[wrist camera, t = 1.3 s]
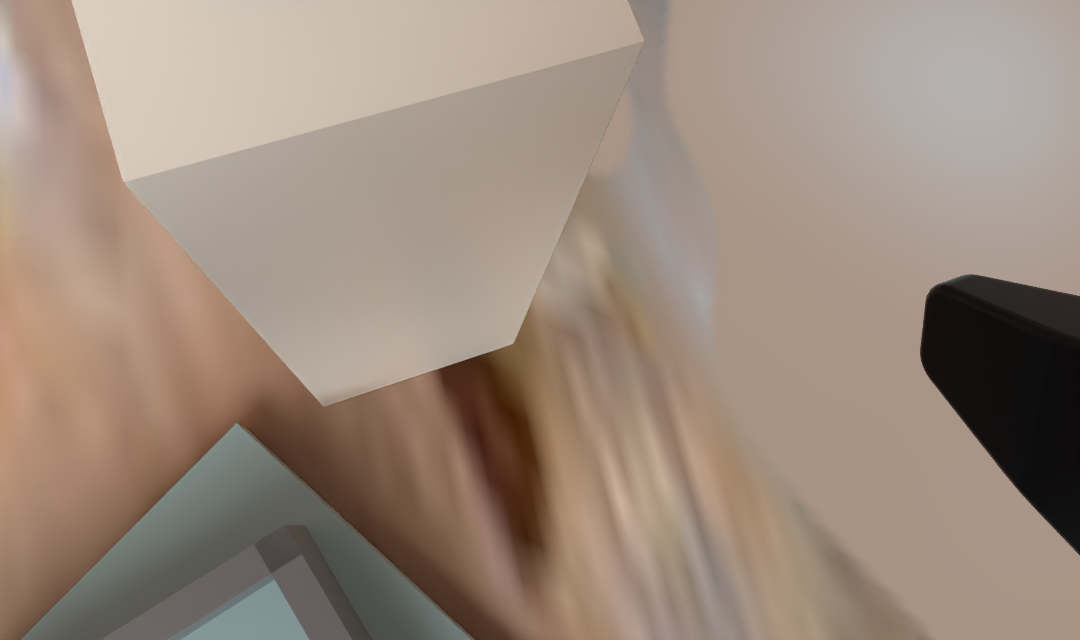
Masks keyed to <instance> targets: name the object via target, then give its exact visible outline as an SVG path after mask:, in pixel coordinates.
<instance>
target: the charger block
mask: <svg viewBox="0 0 1080 640" xmlns="http://www.w3.org/2000/svg"><path fill="white" fill-rule="evenodd" d="M72 3H73V7H74V10H75V14H76V18H77V21H78V25H79V28H80V32H81V35H82V39H83V42H84V46H85V49H86V53H87V56H88V60H89V63H90V67H91V70H92V74H93V78H94V81H95V85H96V88H97V92H98V95H99V99H100V102H101V106H102V109H103V113H104V116H105V120H106V123H107V127H108V130H109V134H110V138H111V141H112V145H113V148H114V152H115V155H116V159H117V162H118V166H119V169H120V173H121V176H122V180H123V183H124V184H125V185H126V186H127V187H128V188H129V189H130V190H131V192H132V193H133V194H134V195H135V196H136V197H137V198H138V199H139V201H140V202H141V203H142V204H143V205H144V206H145V207H146V208H147V210H148V211H149V212H150V213H151V214H152V215H153V216H154V217H155V219H156V220H157V221H158V222H159V223H160V224H161V225H162V226H163V227H164V229H165V230H166V231H167V232H168V233H169V234H170V235H171V236H172V238H173V239H174V240H175V241H176V242H177V243H178V244H179V245H180V247H181V248H182V249H183V250H184V251H185V252H186V253H187V254H188V255H189V257H190V258H191V259H192V260H193V261H194V262H195V263H196V264H197V266H198V267H199V268H200V269H201V270H202V271H203V272H204V273H205V275H206V276H207V277H208V278H209V279H210V280H211V281H212V282H213V284H214V285H215V286H216V287H217V288H218V289H219V290H220V291H221V292H222V294H223V295H224V296H225V297H226V298H227V299H228V300H229V301H230V303H231V304H232V305H233V306H234V307H235V308H236V309H237V310H238V312H239V313H240V314H241V315H242V316H243V317H244V318H245V319H246V320H247V322H248V323H249V324H250V325H251V326H252V327H253V328H254V329H255V331H256V332H257V333H258V334H259V335H260V336H261V337H262V338H263V340H264V341H265V342H266V343H267V344H268V345H269V346H270V347H271V348H272V350H273V351H274V352H275V353H276V354H277V355H278V356H279V357H280V359H281V360H282V361H283V362H284V363H285V364H286V365H287V366H288V368H289V369H290V370H291V371H292V372H293V373H294V374H295V375H296V377H297V378H298V379H299V380H300V381H301V382H302V383H303V384H304V385H305V387H306V388H307V389H308V390H309V391H310V392H311V393H312V394H313V396H314V397H315V398H316V399H317V400H318V401H319V402H320V403H321V405H322V406H323V407H325V406H328V405H331V404H334V403H337V402H340V401H343V400H346V399H349V398H352V397H355V396H358V395H361V394H364V393H367V392H370V391H373V390H376V389H379V388H382V387H385V386H388V385H391V384H394V383H397V382H400V381H403V380H406V379H409V378H412V377H415V376H418V375H421V374H424V373H427V372H430V371H433V370H436V369H439V368H442V367H445V366H448V365H451V364H454V363H457V362H460V361H464V360H467V359H470V358H473V357H476V356H479V355H482V354H485V353H488V352H491V351H494V350H497V349H500V348H503V347H506V346H509V345H512V344H514V341H515V339H516V337H517V334H518V332H519V330H520V327H521V325H522V323H523V321H524V318H525V316H526V314H527V311H528V309H529V307H530V304H531V302H532V300H533V298H534V295H535V293H536V291H537V288H538V286H539V284H540V281H541V279H542V277H543V275H544V272H545V270H546V268H547V265H548V263H549V261H550V258H551V256H552V254H553V251H554V249H555V247H556V245H557V242H558V240H559V238H560V235H561V233H562V231H563V228H564V226H565V224H566V222H567V219H568V217H569V215H570V212H571V210H572V208H573V205H574V203H575V201H576V199H577V196H578V194H579V192H580V189H581V187H582V185H583V182H584V180H585V178H586V175H587V173H588V171H589V169H590V166H591V164H592V162H593V159H594V157H595V155H596V152H597V150H598V148H599V145H600V143H601V141H602V139H603V136H604V134H605V132H606V129H607V127H608V125H609V122H610V120H611V118H612V115H613V113H614V111H615V108H616V106H617V104H618V102H619V99H620V97H621V95H622V93H623V90H624V88H625V86H626V83H627V81H628V79H629V76H630V74H631V72H632V70H633V67H634V65H635V63H636V60H637V58H638V56H639V53H640V51H641V49H642V46H643V44H644V42H645V41H644V38H643V36H642V33H641V31H640V29H639V26H638V24H637V21H636V19H635V17H634V14H633V12H632V9H631V7H630V5H629V2H628V0H72Z"/></svg>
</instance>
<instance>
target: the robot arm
mask: <svg viewBox="0 0 1080 640" xmlns="http://www.w3.org/2000/svg"><path fill="white" fill-rule="evenodd" d="M920 356H921V361H922V364H923V367H924V370H925V371H926V374H927V375H928V377H929V378H930V379H931V381H932V382H933V383H934V385H935V386H936V387H937V388H938V390H939V391H940V392H941V394H942V395H943V396H944V397H945V399H946V400H947V401H948V402H949V404H950V405H951V406H952V408H953V409H954V410H955V411H956V413H957V414H958V415H959V416H960V418H961V419H962V420H963V422H964V423H965V424H966V425H967V427H968V428H969V429H970V430H971V432H972V433H973V434H974V436H975V437H976V438H977V439H978V441H979V442H980V443H981V444H982V446H983V447H984V448H985V449H986V451H987V452H988V453H989V455H990V456H991V457H992V458H993V460H994V461H995V462H996V463H997V465H998V466H999V467H1000V469H1001V470H1002V471H1003V472H1004V474H1005V475H1006V476H1007V477H1008V478H1009V480H1010V481H1011V482H1012V483H1013V484H1014V485H1015V487H1016V488H1017V489H1018V490H1019V492H1020V493H1021V494H1022V495H1023V496H1024V497H1025V498H1026V499H1027V500H1028V501H1029V503H1031V505H1032V506H1033V507H1034V508H1035V509H1036V510H1037V511H1038V512H1039V513H1040V514H1041V515H1042V516H1043V517H1044V519H1045V520H1046V521H1047V522H1048V523H1049V524H1050V525H1051V526H1052V527H1053V528H1054V529H1055V530H1056V531H1057V532H1058V533H1059V534H1060V535H1061V536H1062V537H1063V538H1064V539H1065V540H1066V541H1067V542H1068V543H1069V545H1070V546H1072V548H1073V549H1074V550H1075V551H1076V552H1077V553H1078V554H1079V555H1080V296H1076V295H1072V294H1067V293H1062V292H1057V291H1052V290H1047V289H1043V288H1037V287H1033V286H1028V285H1023V284H1018V283H1013V282H1009V281H1003V280H999V279H994V278H989V277H984V276H979V275H964V276H960V277H957V278H955V279H952V280H949V281H946V282H943V283H941V284H938V285H936V286H934V287H933V288H932V289H931V290H930V292H929V293H928V295H927V298H926V302H925V312H924V320H923V329H922V338H921V347H920Z"/></svg>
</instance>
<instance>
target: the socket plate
mask: <svg viewBox="0 0 1080 640" xmlns="http://www.w3.org/2000/svg"><path fill="white" fill-rule="evenodd" d="M21 640H475V639H474V638H473V637H472V636H471V635H470V634H468V633H467V632H466V631H465V630H464V629H463V628H462V627H461V626H460V625H459V624H458V623H457V622H456V621H454V620H453V619H452V618H451V617H450V616H449V615H448V614H447V613H446V612H445V611H444V610H443V609H441V608H440V607H439V606H438V605H437V604H436V603H435V602H434V601H433V600H432V599H431V598H430V597H428V596H427V595H426V594H425V593H424V592H423V591H422V590H421V589H420V588H419V587H418V586H417V585H415V584H414V583H413V582H412V581H411V580H410V579H409V578H408V577H407V576H406V575H405V574H404V573H402V572H401V571H400V570H399V569H398V568H397V567H396V566H395V565H394V564H393V563H392V562H391V561H390V560H388V559H387V558H386V557H385V556H384V555H383V554H382V553H381V552H380V551H379V550H378V549H377V548H375V547H374V546H373V545H372V544H371V543H370V542H369V541H368V540H367V539H366V538H365V537H364V536H362V535H361V534H360V533H359V532H358V531H357V530H356V529H355V528H354V527H353V526H352V525H351V524H349V523H348V522H347V521H346V520H345V519H344V518H343V517H342V516H341V515H340V514H339V513H338V512H336V511H335V510H334V509H333V508H332V507H331V506H330V505H329V504H328V503H327V502H326V501H325V500H324V499H322V498H321V497H320V496H319V495H318V494H317V493H316V492H315V491H314V490H313V489H312V488H311V487H309V486H308V485H307V484H306V483H305V482H304V481H303V480H302V479H301V478H300V477H299V476H298V475H296V474H295V473H294V472H293V471H292V470H291V469H290V468H289V467H288V466H287V465H286V464H285V463H283V462H282V461H281V460H280V459H279V458H278V457H277V456H276V455H275V454H274V453H273V452H272V451H270V450H269V449H268V448H267V447H266V446H265V445H264V444H263V443H262V442H261V441H260V440H259V439H258V438H256V437H255V436H254V435H253V434H252V433H251V432H250V431H249V430H248V429H247V428H245V427H243V426H241V425H239V424H238V423H236V424H235V425H234V426H233V427H232V428H231V429H230V430H229V431H228V432H227V433H226V434H225V435H224V436H223V437H222V438H221V439H220V440H219V441H218V442H217V443H216V444H215V445H214V446H213V447H212V448H211V449H210V450H209V451H208V452H207V453H206V454H205V455H204V456H203V457H202V458H201V459H200V460H199V461H198V462H197V463H196V464H195V465H194V466H193V467H192V468H191V469H190V470H189V471H188V472H187V473H186V474H185V475H184V476H183V477H182V478H181V479H180V480H179V481H178V482H177V483H176V484H175V485H174V486H173V487H172V488H171V489H170V490H169V491H168V492H167V493H166V494H165V495H164V496H163V497H162V498H161V499H160V500H159V501H158V502H157V503H156V504H155V505H154V506H153V507H152V508H151V509H150V510H149V511H148V512H147V513H146V514H145V515H144V516H143V517H142V518H141V519H140V520H139V521H138V522H137V523H136V524H135V525H134V526H133V527H132V528H131V529H130V530H129V531H128V532H127V533H126V534H125V535H124V536H123V537H122V538H121V539H120V540H119V541H118V542H117V543H116V544H115V545H114V546H113V547H112V548H111V549H110V550H109V551H108V552H107V553H106V554H105V555H104V556H103V557H102V558H101V559H100V560H99V561H98V562H97V563H96V564H95V565H94V566H93V567H92V568H91V569H90V570H89V571H88V572H87V573H86V574H85V575H84V576H83V577H82V578H81V579H80V580H79V581H78V582H77V583H76V584H75V585H74V586H73V587H72V588H71V589H70V590H69V591H68V592H67V593H66V594H65V595H64V596H63V597H62V598H61V599H60V600H59V601H58V602H57V603H56V604H55V605H54V606H53V607H52V608H51V609H50V610H49V611H48V612H47V613H46V614H45V615H44V616H43V617H42V618H41V619H40V620H39V621H38V622H37V624H36V625H35V626H34V627H33V628H32V629H31V630H30V631H29V632H28V633H27V634H26V635H25V636H24V637H23V638H22V639H21Z"/></svg>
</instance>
